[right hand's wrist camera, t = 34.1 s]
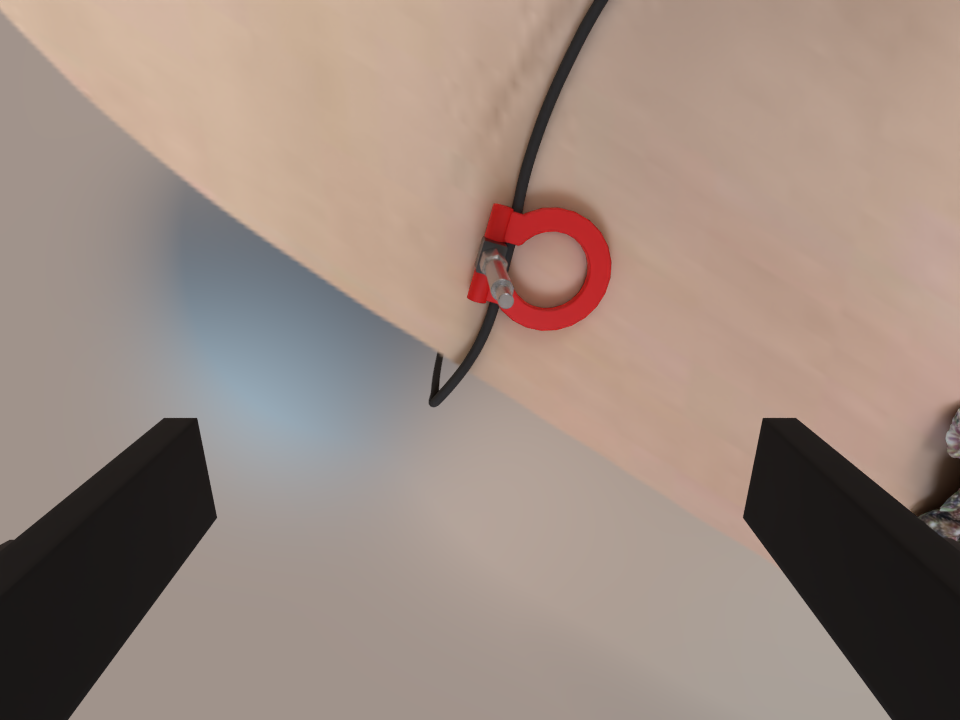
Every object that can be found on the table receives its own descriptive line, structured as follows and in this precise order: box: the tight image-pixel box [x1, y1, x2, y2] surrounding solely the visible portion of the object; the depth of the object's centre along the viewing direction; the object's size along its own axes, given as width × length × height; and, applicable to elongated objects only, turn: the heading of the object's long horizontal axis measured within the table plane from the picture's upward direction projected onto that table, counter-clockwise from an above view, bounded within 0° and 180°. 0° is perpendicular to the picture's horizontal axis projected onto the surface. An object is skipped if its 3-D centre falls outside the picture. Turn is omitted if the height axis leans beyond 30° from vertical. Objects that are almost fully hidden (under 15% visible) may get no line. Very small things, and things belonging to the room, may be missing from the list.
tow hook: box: [467, 203, 611, 331], centre depth 32 cm, size 8×13×9 cm
